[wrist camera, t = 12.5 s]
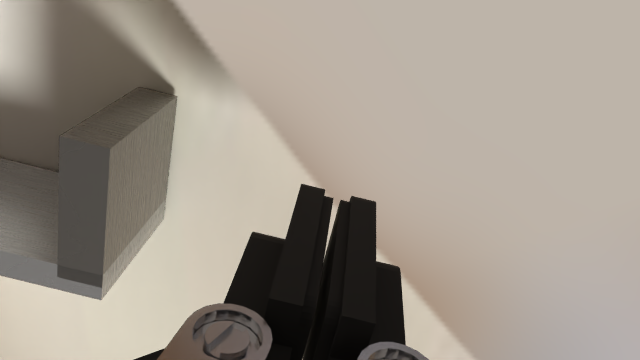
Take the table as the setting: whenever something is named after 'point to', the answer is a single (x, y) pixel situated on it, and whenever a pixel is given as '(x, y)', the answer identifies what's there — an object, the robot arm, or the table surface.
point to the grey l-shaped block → (89, 198)
